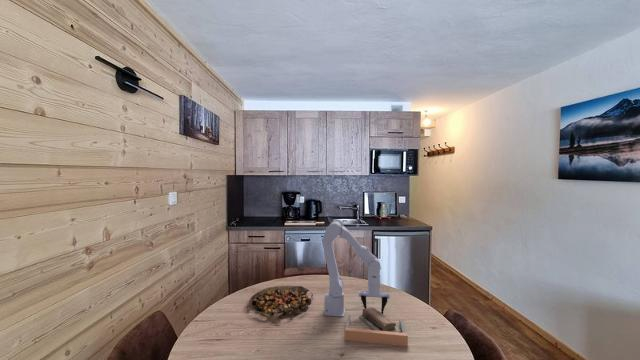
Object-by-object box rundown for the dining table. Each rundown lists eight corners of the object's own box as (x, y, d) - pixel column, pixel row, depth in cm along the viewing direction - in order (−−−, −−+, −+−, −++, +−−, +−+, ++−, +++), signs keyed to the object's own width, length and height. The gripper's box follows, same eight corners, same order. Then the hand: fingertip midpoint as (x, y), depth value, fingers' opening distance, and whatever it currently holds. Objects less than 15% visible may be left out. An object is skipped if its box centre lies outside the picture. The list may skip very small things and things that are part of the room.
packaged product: (358, 308, 126) (375, 304, 131) (358, 318, 126) (375, 314, 131) (382, 327, 110) (401, 322, 114) (382, 339, 110) (401, 333, 114)
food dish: (298, 329, 120) (298, 311, 119) (235, 318, 130) (234, 302, 130) (322, 294, 153) (322, 280, 153) (270, 287, 163) (270, 275, 163)
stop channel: (344, 340, 109) (344, 330, 109) (347, 319, 125) (347, 311, 125) (407, 346, 105) (407, 335, 105) (402, 324, 121) (402, 315, 121)
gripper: (388, 281, 132) (388, 309, 132) (358, 279, 134) (358, 307, 134) (390, 287, 125) (390, 316, 125) (358, 285, 127) (358, 313, 127)
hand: (374, 312), depth 129 cm, fingers open, 7 cm apart
